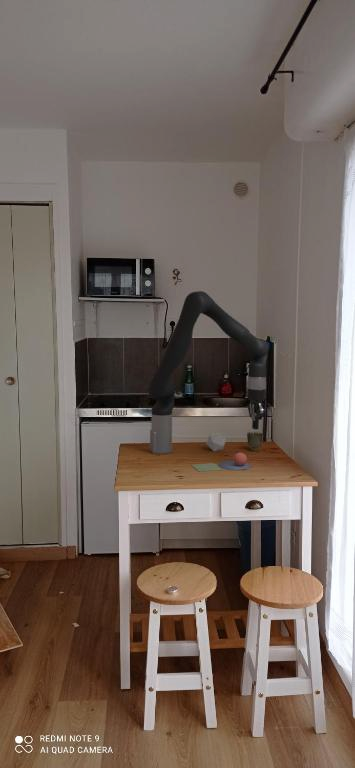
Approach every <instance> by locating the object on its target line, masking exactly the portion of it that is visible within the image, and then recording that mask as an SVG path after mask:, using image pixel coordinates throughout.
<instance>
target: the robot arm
mask: <svg viewBox="0 0 355 768" xmlns="http://www.w3.org/2000/svg"><path fill="white" fill-rule="evenodd" d="M180 311H181V312H180V315H179V319H178V321H177V323H176V325H175V328H174V329H173V332H172V335H171V337H170V339H169V341H168V342H167V345H166V348H165V351H164V353H163V355H162V358H161V360H160V363H159V365H158V367H157V368H156V371H155V372H154V374H153V376H152V378H151V380H150V382H149V384H148V388H147V391H148V395H149V397H150V398H151V399H152V400H156V402H155V404H154V405H153V406H152V408H151V424H150V425H151V426H150V427H151V429H150V430H149V451H150V452H152V454H159V455H160V454H161V455H162V454H170V453H171V452H172V449H173V410H174V406H175V398H176V397H175V395H176V393H175V392H176V390H175V389H176V388H175V387H176V386H175V383H174V382H173V380H172V379H171V376H172V375H173V373H175V371H176V369H178V368H179V366H180V365H181V364H182V363H183V362H184V360H185V359H186V357H187V355H188V352H189V350H190V348H191V345H192V343H193V342H192V341H193V332H194V327H195V324H196V323H197V322H198V321H197V320H198V319H199V317H200V315H201V314H202V315H204V316H206V317H208V318H210V319H211V320H212V321H213V322H215V324H216V325H217V326H218V327H219V328H220V329H221V330H222V331H223V333H225V335H227V336H228V337H229V338H231V340H233V341H235V342H236V343H238V345H240V346H241V347H242V349H244V351H246V352H247V353H248V354H249V355H250V362H249V364H248V375H247V377H248V378H247V388H246V394H247V395H246V397H247V399H248V400H250V401H249V404H247V406H246V407H247V410H248V415H249V417H250V419H251V420H252V423H251V429H252V430H259V424H260V423H259V421H261V420H262V419H263V416H264V414H265V412H266V409H265V408H263V400H265V399H266V393H267V359H268V356H269V355H268V354H269V346H268V342H267V341H266V340H265V339H263V338H257V337H256V336H255V335H253V334H252V333H251V331H250V330H249V329H248V328H247V327H246V326H245V325H243V324H242V323H240V322H239V321H238V320H236V319H235V318H234V317H232V316H231V315H230V314H228V312H226V311H225V310H224V309H223V308H222V307H221V306H219V304H217V302H215V300H214V299H213V298H212V296H210V295H209V294H208V293H206V292H205V291H202V290H198V291H197V290H196V291H193V292H190V293H189V294H187V296H186V297H185V299H184V302H183V305H182V309H181V310H180Z"/></svg>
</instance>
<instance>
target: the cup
mask: <svg viewBox="0 0 355 768" xmlns="http://www.w3.org/2000/svg"><path fill="white" fill-rule="evenodd" d="M246 438H247V444H248V446H249V447H250V450H251V451H252V452H258V451H259V449H260V447H261V446H262V444H263V440H264V433H263V432H258V431H254V432H253V431H252V432H250V431H248V432H246Z"/></svg>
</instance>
